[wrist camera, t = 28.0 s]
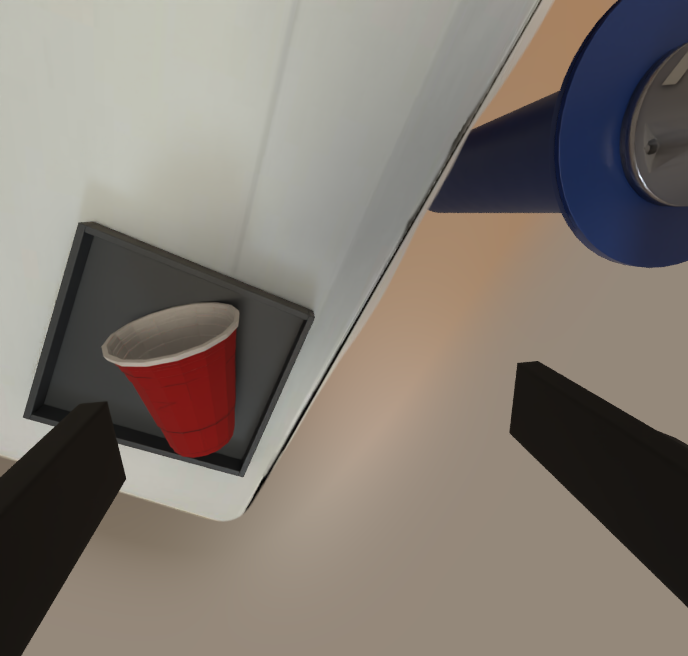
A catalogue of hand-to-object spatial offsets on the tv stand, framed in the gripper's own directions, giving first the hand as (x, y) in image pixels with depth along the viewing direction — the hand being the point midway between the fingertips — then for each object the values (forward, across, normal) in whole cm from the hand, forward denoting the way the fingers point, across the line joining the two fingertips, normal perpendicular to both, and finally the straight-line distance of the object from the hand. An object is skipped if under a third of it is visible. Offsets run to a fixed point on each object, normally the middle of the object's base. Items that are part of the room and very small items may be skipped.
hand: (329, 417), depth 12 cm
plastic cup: (+22, -10, -14) cm, 28 cm away
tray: (+27, -12, -7) cm, 30 cm away
